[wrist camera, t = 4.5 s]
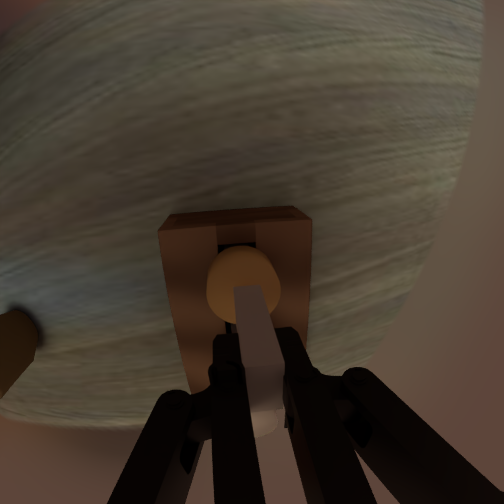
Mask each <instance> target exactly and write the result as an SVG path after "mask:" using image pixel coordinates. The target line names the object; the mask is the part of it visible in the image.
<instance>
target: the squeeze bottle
mask: <svg viewBox="0 0 504 504" xmlns="http://www.w3.org/2000/svg"><path fill="white" fill-rule="evenodd" d="M37 342H38V333H37V329H36V327H35V326H34V324H33V322H32V321H31V320H30V319H29V317H28V316H27V315H25V314H24V313H22V312H21V311H17V310H14V311H10V312H7V313H4V314H1V315H0V399H1V398H2V397H3V396H4V394H5V393H6V392H7V391H8V390H9V388H10V387H11V386H12V385H13V384H14V382H15V381H16V380H17V379H18V378H19V376H20V375H21V374H22V373H23V372H24V371H25V370H26V368H27V367H28V366H29V365H30V364H31V363H32V362H33V360H34V356H35V351H36V347H37Z"/></svg>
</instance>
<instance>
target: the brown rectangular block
mask: <svg viewBox="0 0 504 504" xmlns="http://www.w3.org/2000/svg"><path fill="white" fill-rule="evenodd" d="M158 237H159V244H160V251H161V257H162V264H163V270H164V275H165V281H166V287H167V292H168V297H169V302H170V307H171V312H172V317H173V322H174V326H175V331H176V335H177V340H178V344H179V348H180V353H181V357H182V361H183V365H184V369H185V372H186V376H187V380H188V384H189V387H190V391H191V394H195V393H198V392H201V391H203V390H205V389H206V388H207V387H208V386H209V385H210V381H209V376H208V369H209V366H210V365H211V364H212V363H213V340H214V338H215V337H216V335H217V334H226V325H225V322H226V321H224V320H223V319H221V318H219V317H218V316H217V315H216V314H215V313H214V312H213V311H212V309H211V308H210V306H209V304H208V301H207V296H206V290H207V275H208V269H209V266H210V264H211V262H212V261H213V259H214V258H215V257H216V256H217V255H218V245H222V244H235V243H248V242H255V248H256V249H258V250H260V251H261V252H262V253H264V254H265V255H266V256H267V257H268V259H269V260H270V262H271V264H272V266H273V268H274V270H275V272H276V274H277V277H278V279H279V281H280V286H281V294H280V299H279V301H278V304H277V306H276V307H275V309H274V310H273V311H272V312H271V313H270V314H269V315H270V318H271V321H272V324H273V327H274V328H282V327H290V326H291V327H292V328H294V329H295V330H296V331H297V332H298V333H299V336H300V338H301V340H302V343H303V346H304V347H305V350H306V342H307V329H308V314H309V297H310V277H311V249H312V219H311V218H309V217H308V216H307V215H305V214H304V213H302V212H301V211H300V210H298V209H297V208H296V207H294V206H278V207H260V208H245V209H230V210H217V211H205V212H193V213H182V214H172V215H169V217H168V218H167V219H166V221H165V222H164V223H163V225H162V226H161V227H160V229H159V230H158Z"/></svg>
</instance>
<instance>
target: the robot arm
mask: <svg viewBox="0 0 504 504" xmlns="http://www.w3.org/2000/svg"><path fill="white" fill-rule="evenodd" d="M233 292H234V304H235V316H236V327H237V333H229V334H217V335H216V337H215V338H214V340H213V363H212V364H211V365H210V366H209V369H208V376H209V381H210V385H209V386H208V387H207V388H206V389H205V390H203V391H201V392H198V393H195V394H191V395H190V394H188V393H187V392H186V391H183V390H170V391H167V392H165V393H163V394H162V395H161V396H160V397H159V399H158V400H157V402H156V404H155V406H154V408H153V410H152V412H151V414H150V416H149V418H148V420H147V422H146V424H145V426H144V428H143V430H142V432H141V434H140V436H139V439H138V440H137V442H136V444H135V446H134V449H133V451H132V453H131V455H130V457H129V459H128V461H127V463H126V465H125V467H124V469H123V471H122V473H121V475H120V477H119V480H118V482H117V484H116V486H115V488H114V490H113V492H112V494H111V496H110V498H109V501H108V503H107V504H185V502H186V498H187V495H188V492H189V489H190V486H191V483H192V479H193V476H194V473H195V470H196V466H197V463H198V460H199V457H200V454H201V450H202V447H203V444H204V441H205V440H208V439H211V438H212V461H213V484H214V502H215V504H266V503H265V497H264V491H263V486H262V480H261V474H260V468H259V462H258V457H257V450H256V444H255V438H254V431H253V425H252V418H251V413H252V412H261V411H269V410H276V409H283V403H284V407H285V425H284V428H288V432H289V435H290V439H291V443H292V447H293V451H294V455H295V459H296V462H297V466H298V470H299V474H300V478H301V481H302V485H303V489H304V493H305V497H306V500H307V504H377V502H376V500H375V497H374V495H373V493H372V490H371V488H370V485H369V483H368V481H367V478H366V476H365V474H364V471H363V469H362V467H361V464H360V462H359V459H358V457H357V455H356V452H357V453H358V454H359V456H360V457H361V458H362V459H363V460H364V462H365V463H366V464H367V465H368V466H369V468H370V469H371V470H372V471H373V472H374V474H375V475H376V476H377V477H378V478H379V480H380V481H381V482H382V483H383V484H384V486H385V487H386V488H387V489H388V490H389V491H390V493H391V494H392V495H393V496H394V497H395V498H396V499H397V501H398V502H399V503H400V504H504V492H502V491H500V490H499V489H498V488H496V487H495V486H494V485H493V484H492V483H491V482H490V481H489V480H488V479H487V478H486V477H485V476H483V475H482V474H481V473H480V472H479V471H478V470H477V469H476V468H474V466H472V465H471V464H470V463H469V462H468V461H467V460H466V459H465V458H464V457H463V456H462V455H461V454H459V453H458V452H457V451H456V450H455V449H454V448H453V447H452V446H451V445H450V444H449V443H447V442H446V441H445V440H444V439H443V438H442V437H441V436H440V435H439V434H438V433H437V432H436V431H435V430H433V429H432V428H431V427H430V426H429V425H428V424H427V423H426V422H425V421H424V420H422V418H420V417H419V416H418V415H417V414H416V413H415V412H414V411H413V410H412V409H411V408H410V407H409V406H408V405H406V404H405V403H404V402H403V401H402V400H401V399H400V398H399V397H398V396H397V395H396V394H395V393H394V392H393V391H391V390H390V389H389V388H388V387H387V386H386V385H385V384H384V383H383V382H382V381H381V380H380V379H379V378H377V376H375V375H374V374H373V373H372V372H371V371H369V370H368V369H366V368H362V367H353V368H349V369H348V370H346V371H345V372H344V374H343V375H342V376H329V375H324V374H321V373H320V371H319V370H318V369H317V368H315V367H313V366H312V364H311V361H310V359H309V357H308V354H307V352H306V350H305V347H304V346H303V343H302V340H301V338H300V336H299V333H298V332H297V331H296V330H295V329H294V328H292V327H291V326H290V327H282V328H274V327H273V324H272V321H271V318H270V315H269V311H268V308H267V305H266V302H265V299H264V295H263V292H262V289H261V286H260V285H249V286H238V287H233ZM354 449H355V450H354ZM355 451H356V452H355Z"/></svg>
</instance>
